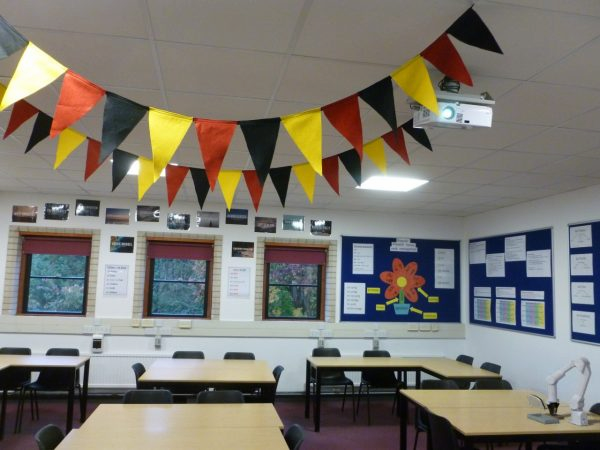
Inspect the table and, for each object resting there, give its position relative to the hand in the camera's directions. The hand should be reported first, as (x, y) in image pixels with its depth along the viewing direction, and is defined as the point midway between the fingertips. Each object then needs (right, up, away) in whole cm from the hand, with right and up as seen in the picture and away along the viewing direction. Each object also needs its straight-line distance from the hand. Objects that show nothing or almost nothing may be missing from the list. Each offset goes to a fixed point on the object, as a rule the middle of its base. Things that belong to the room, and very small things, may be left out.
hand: (553, 413), depth 338 cm
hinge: (+5, -8, +32) cm, 33 cm away
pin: (0, -3, 0) cm, 3 cm away
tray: (-11, -2, -8) cm, 13 cm away
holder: (0, -3, 0) cm, 3 cm away
